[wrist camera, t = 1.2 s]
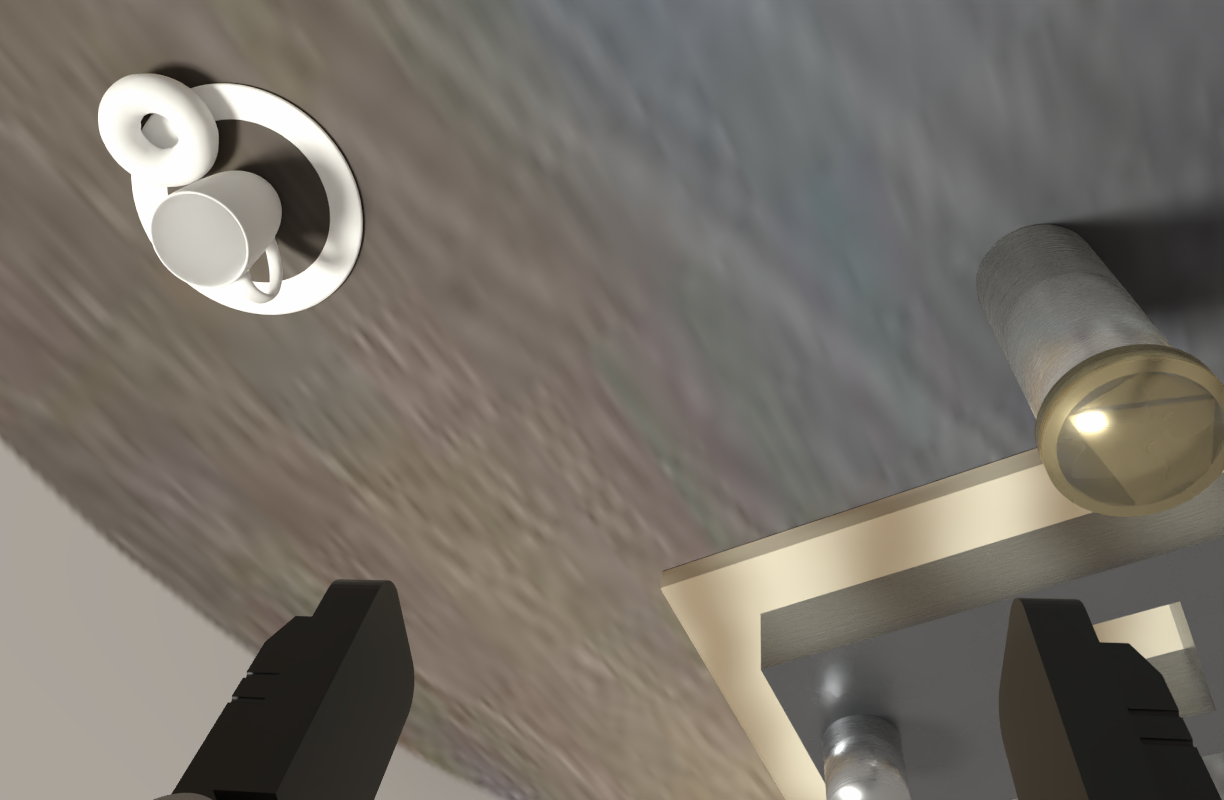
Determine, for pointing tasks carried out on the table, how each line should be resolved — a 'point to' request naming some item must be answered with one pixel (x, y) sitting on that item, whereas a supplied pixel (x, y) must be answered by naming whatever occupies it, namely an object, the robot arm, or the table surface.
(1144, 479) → the pin
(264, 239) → the teacup and saucer
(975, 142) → the table surface
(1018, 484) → the birch board
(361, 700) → the robot arm
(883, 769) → the knobbed grey block
